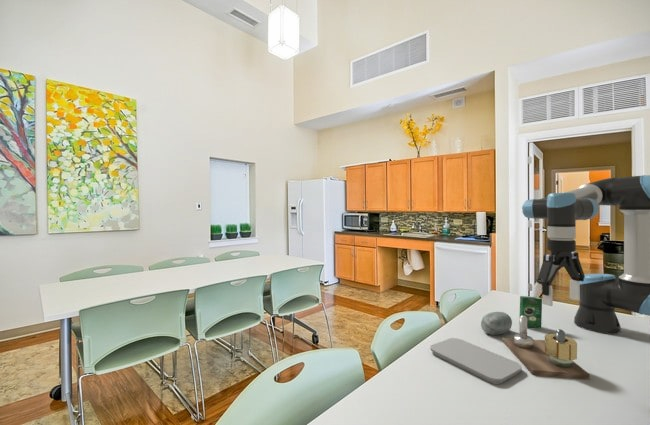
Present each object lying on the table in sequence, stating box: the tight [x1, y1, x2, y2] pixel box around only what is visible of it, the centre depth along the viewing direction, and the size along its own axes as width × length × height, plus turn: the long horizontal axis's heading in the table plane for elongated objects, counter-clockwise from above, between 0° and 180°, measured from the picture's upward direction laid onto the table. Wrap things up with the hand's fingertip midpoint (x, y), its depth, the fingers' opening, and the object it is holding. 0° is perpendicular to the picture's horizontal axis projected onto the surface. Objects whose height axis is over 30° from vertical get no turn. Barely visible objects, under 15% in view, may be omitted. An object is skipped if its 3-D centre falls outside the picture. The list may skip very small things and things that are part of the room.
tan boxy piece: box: [544, 333, 578, 361], centre depth 100 cm, size 8×8×5 cm
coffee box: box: [518, 295, 543, 329], centre depth 134 cm, size 8×3×13 cm, turn 79°
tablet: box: [429, 337, 523, 385], centre depth 105 cm, size 16×26×2 cm, turn 31°
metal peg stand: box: [549, 328, 573, 368], centre depth 100 cm, size 6×6×11 cm
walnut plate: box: [501, 337, 591, 380], centre depth 107 cm, size 16×24×2 cm, turn 170°
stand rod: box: [513, 315, 534, 349], centre depth 113 cm, size 6×6×11 cm
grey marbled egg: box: [480, 311, 513, 336], centre depth 129 cm, size 14×10×10 cm
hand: (561, 302), depth 102 cm, fingers open, 13 cm apart
